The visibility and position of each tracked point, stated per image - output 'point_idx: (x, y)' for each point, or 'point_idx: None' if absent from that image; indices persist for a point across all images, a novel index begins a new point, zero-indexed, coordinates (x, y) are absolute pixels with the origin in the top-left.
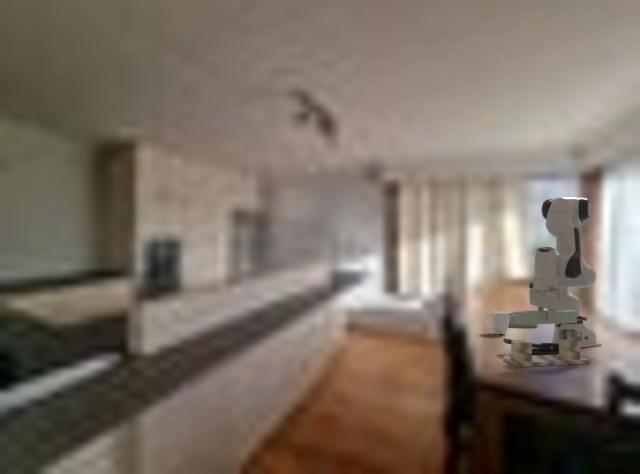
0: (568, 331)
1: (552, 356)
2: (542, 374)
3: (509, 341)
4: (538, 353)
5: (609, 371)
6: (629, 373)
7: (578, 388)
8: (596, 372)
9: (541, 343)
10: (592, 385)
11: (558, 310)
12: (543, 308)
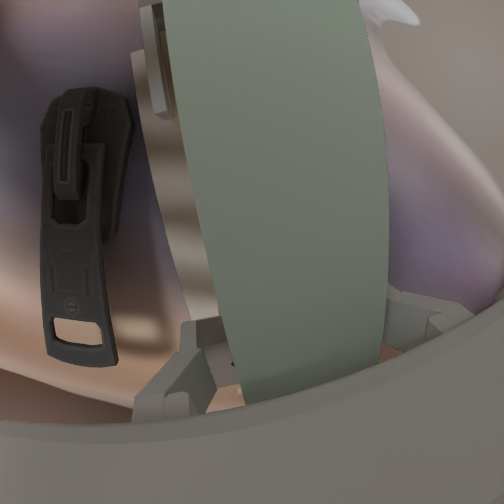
0: (157, 38)
1: (186, 162)
2: (397, 276)
3: (105, 354)
4: (116, 209)
5: (379, 40)
6: (396, 5)
7: (488, 232)
8: (393, 89)
9: (62, 191)
10: (482, 189)
11: (223, 110)
12: (190, 404)
